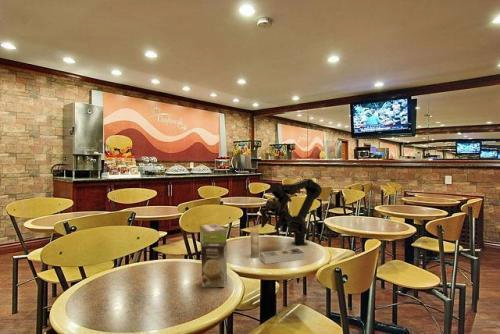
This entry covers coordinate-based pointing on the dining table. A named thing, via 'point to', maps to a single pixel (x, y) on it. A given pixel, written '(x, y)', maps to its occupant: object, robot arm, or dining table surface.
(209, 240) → the tea box
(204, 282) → the coffee box
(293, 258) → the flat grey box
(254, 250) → the peg
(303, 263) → the dining table surface
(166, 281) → the dining table surface
